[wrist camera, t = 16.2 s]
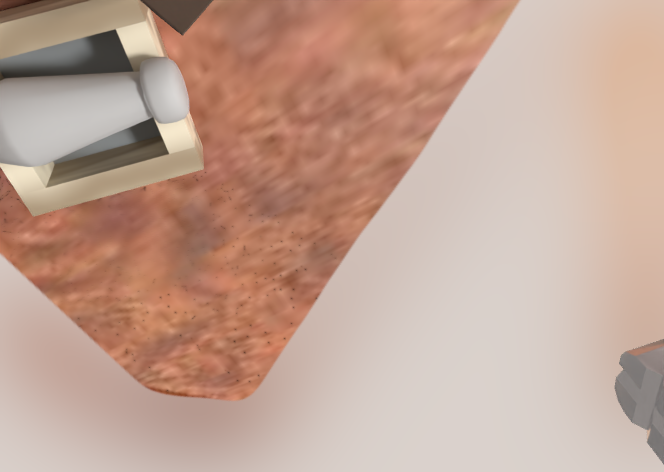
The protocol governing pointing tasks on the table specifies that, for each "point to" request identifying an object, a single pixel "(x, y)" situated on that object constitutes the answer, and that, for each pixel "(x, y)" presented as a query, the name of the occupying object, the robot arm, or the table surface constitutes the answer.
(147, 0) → the coffee box
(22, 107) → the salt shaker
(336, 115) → the table surface
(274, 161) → the table surface
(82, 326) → the table surface
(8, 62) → the socket block
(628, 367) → the robot arm
